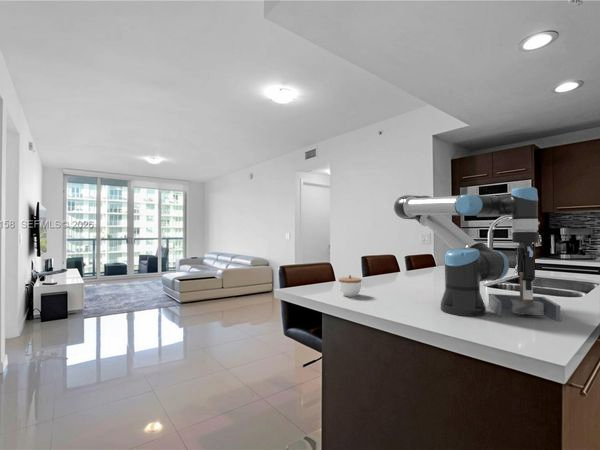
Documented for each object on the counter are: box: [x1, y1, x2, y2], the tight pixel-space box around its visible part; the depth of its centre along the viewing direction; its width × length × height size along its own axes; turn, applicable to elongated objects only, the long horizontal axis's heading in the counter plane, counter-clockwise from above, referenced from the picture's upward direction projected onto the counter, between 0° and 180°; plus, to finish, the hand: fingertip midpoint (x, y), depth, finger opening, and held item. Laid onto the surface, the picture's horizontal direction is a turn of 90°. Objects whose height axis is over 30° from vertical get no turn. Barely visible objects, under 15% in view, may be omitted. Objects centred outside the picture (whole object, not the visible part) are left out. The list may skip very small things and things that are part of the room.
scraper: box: [509, 272, 545, 316], centre depth 111 cm, size 9×3×14 cm, turn 69°
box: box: [488, 293, 562, 322], centre depth 117 cm, size 18×15×5 cm
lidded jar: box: [338, 274, 363, 297], centre depth 150 cm, size 11×11×9 cm
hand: (526, 298), depth 111 cm, fingers closed on scraper, 3 cm apart
